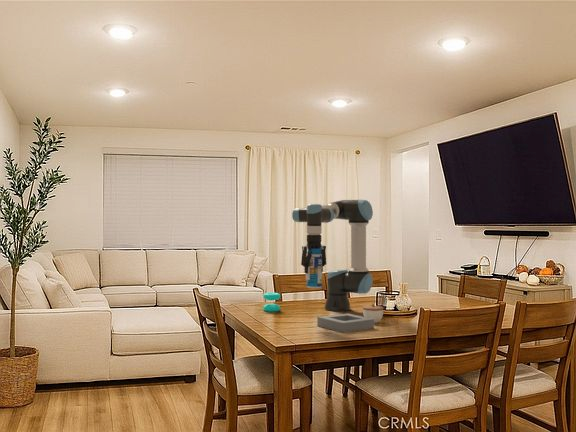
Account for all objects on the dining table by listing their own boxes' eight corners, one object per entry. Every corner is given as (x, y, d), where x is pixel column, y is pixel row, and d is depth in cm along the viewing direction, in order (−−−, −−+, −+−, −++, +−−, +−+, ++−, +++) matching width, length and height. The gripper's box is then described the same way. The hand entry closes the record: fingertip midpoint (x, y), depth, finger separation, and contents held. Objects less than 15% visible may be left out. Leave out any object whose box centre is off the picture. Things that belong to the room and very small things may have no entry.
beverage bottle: (303, 286, 311) (303, 247, 311) (318, 286, 314) (318, 247, 314) (310, 288, 303) (310, 248, 303) (325, 288, 306) (325, 248, 306)
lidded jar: (384, 320, 321) (385, 303, 321) (381, 324, 310) (381, 306, 310) (365, 319, 324) (365, 301, 324) (360, 322, 314) (360, 304, 314)
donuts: (283, 293, 350) (269, 295, 344) (283, 311, 350) (269, 312, 344) (273, 291, 358) (259, 293, 352) (273, 308, 358) (259, 310, 352)
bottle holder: (348, 322, 316) (348, 313, 316) (374, 328, 299) (374, 319, 299) (317, 325, 304) (317, 316, 304) (342, 332, 288) (342, 323, 288)
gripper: (325, 233, 317) (325, 277, 317) (293, 234, 306) (293, 279, 306) (334, 234, 311) (333, 279, 311) (302, 234, 300) (301, 281, 300)
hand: (313, 279), depth 308 cm, fingers closed on beverage bottle, 7 cm apart
